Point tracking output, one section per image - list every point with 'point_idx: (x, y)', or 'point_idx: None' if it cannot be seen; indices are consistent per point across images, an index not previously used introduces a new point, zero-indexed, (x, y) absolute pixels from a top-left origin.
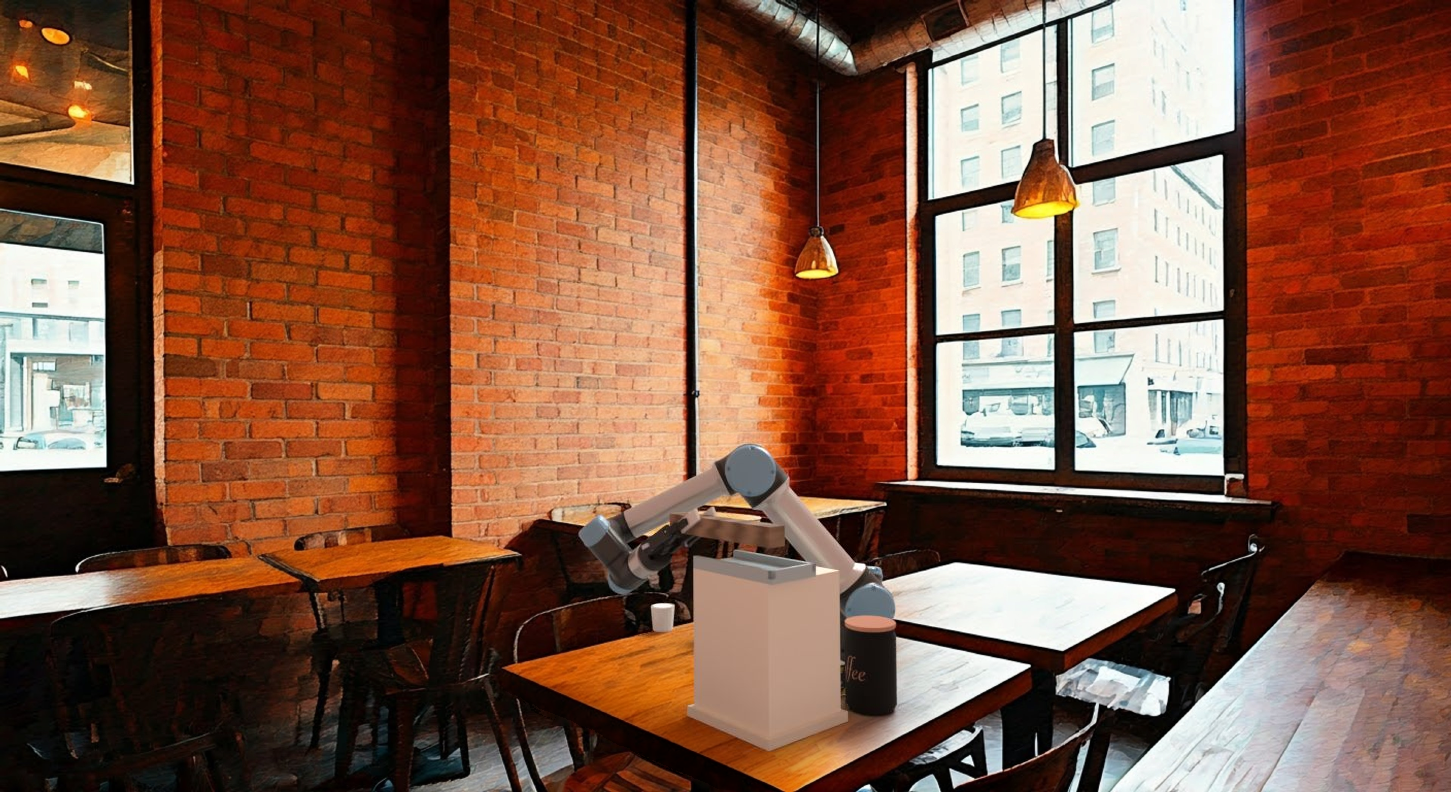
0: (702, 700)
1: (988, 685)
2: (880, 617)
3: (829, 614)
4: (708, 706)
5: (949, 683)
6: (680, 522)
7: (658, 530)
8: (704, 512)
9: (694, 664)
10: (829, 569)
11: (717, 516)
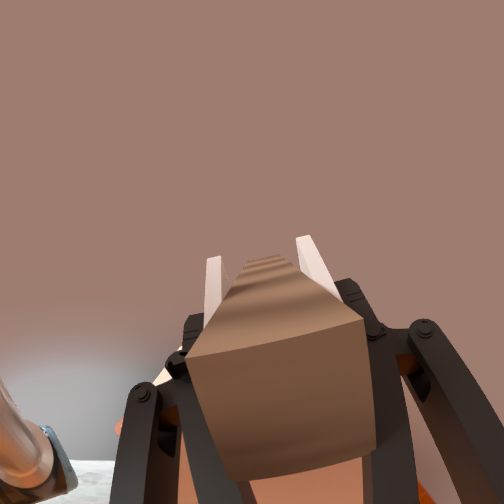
0: None
1: (75, 461)
2: (120, 423)
3: None
4: None
5: (80, 478)
6: (361, 298)
7: (470, 372)
8: (220, 288)
9: None
10: (181, 349)
11: (234, 284)
